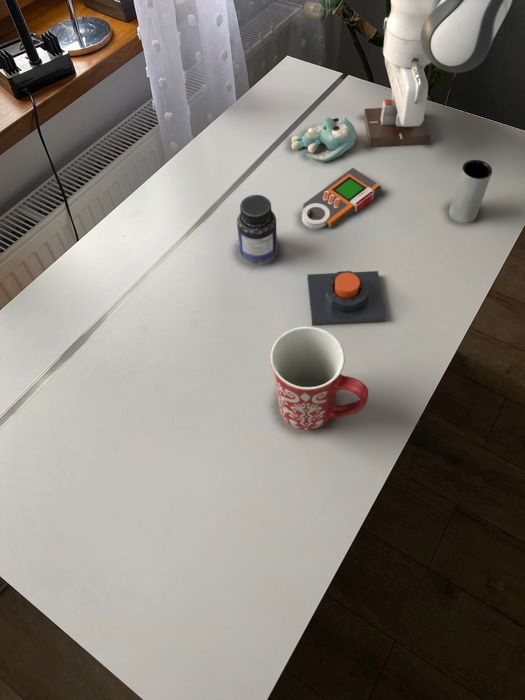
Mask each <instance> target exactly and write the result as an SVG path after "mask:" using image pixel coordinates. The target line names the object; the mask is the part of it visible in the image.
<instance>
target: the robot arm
mask: <svg viewBox="0 0 525 700" xmlns="http://www.w3.org/2000/svg"><path fill="white" fill-rule="evenodd" d="M513 1H514V0H390V8H391V9H390V13H389V15H388V16H387V17H385V18H384V21H383V33H384V39H383V46H382V47H383V48H382V55H383V56H384V65H385V68H386V69H385V70H386V73H387V76H388V80H389V84H390V89H391V100H395V104H396V108H397V111H398V113H396V118H395V122H396V126H403V127H411V126H419V125H421V124H422V122H423V119H424V114H425V113H426V107H427V102H428V92H429V83H428V80H427V76H426V73H425V68H426V66H428V65H430V64H432V65H433V66H435V67H436V68H438V69H439V70H442V71H444V72H447V73H454V74H460V73H466V72H469V71H472V70H474V69H476V68H477V67H478V66H479V65H480V64H482V63H483V62H484V60H485V59H486V57H487V55H488V54H489V51H490V49H491V46H492V44H493V41H494V39H495V37H496V35H497V34H498V31H499V29H500V28H501V26H502V23H503V22H504V20H505V18H506V16H507V14H508V12H509V10H510V8H511V6H512V5H513Z"/></svg>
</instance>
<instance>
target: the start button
mask: <svg viewBox="0 0 525 700" xmlns="http://www.w3.org/2000/svg"><path fill="white" fill-rule="evenodd" d="M359 286H360V280H359V278H358V277H357V276H356V275H354V274H352V273H342V274H340V275H339V276H337V278H336V280H335V292H336V294H337V295H338V296H340V297H342V298H346V299H349V298H353V297H355V296H356V295H357V294H358V291H359Z"/></svg>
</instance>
